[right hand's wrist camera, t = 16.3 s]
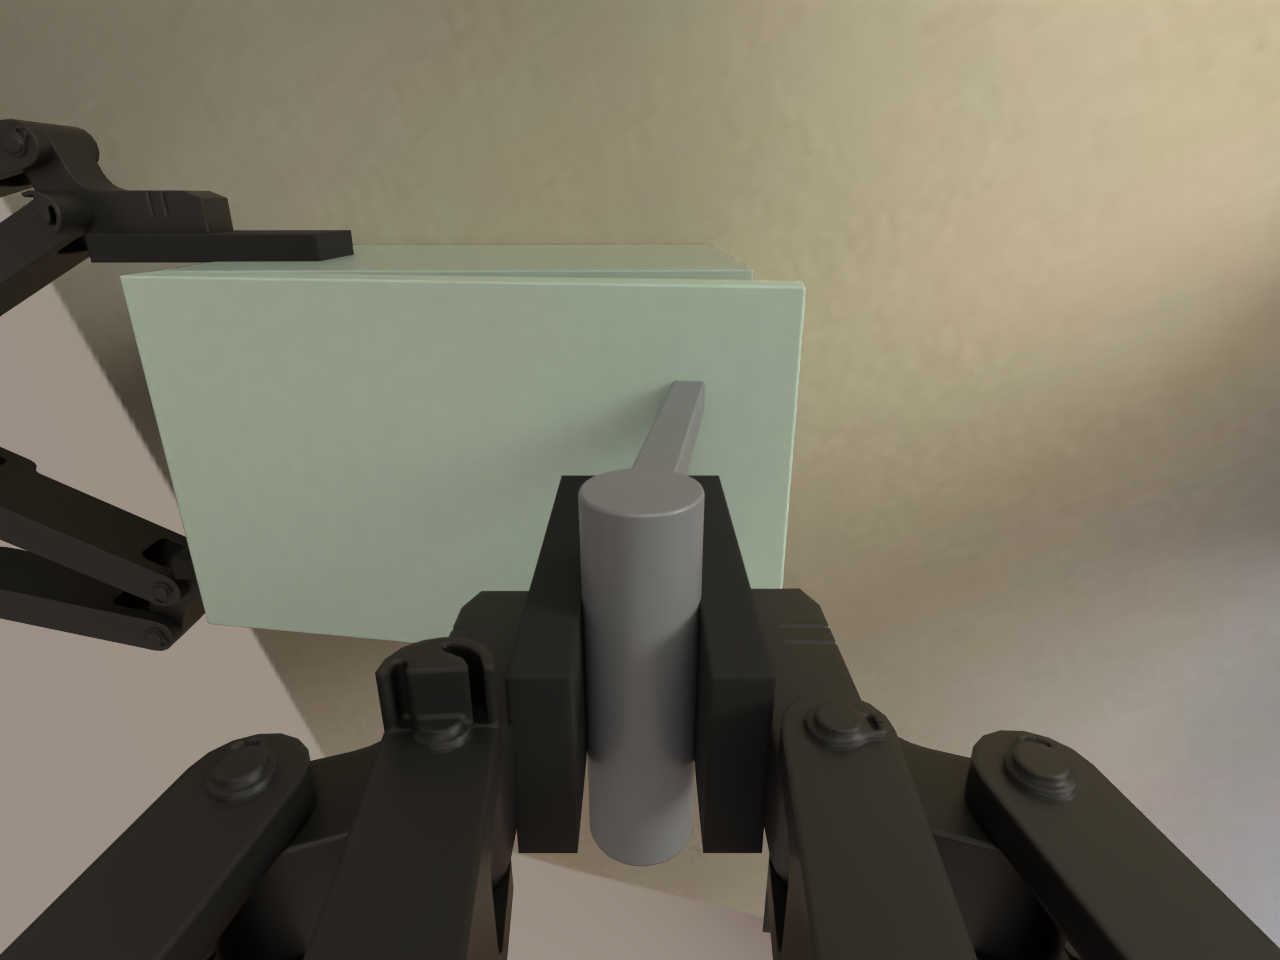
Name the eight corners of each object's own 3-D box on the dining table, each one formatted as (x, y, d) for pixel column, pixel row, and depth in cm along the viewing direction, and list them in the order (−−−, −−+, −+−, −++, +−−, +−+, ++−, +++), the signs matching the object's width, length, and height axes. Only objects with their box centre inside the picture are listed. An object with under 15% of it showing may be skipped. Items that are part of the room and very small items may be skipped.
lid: (803, 280, 16) (846, 366, 8) (774, 652, 19) (783, 976, 11) (153, 271, 18) (-331, 330, 10) (233, 604, 21) (-80, 844, 13)
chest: (711, 243, 28) (754, 269, 18) (703, 473, 32) (736, 600, 22) (323, 244, 28) (151, 270, 18) (358, 474, 31) (231, 603, 22)
